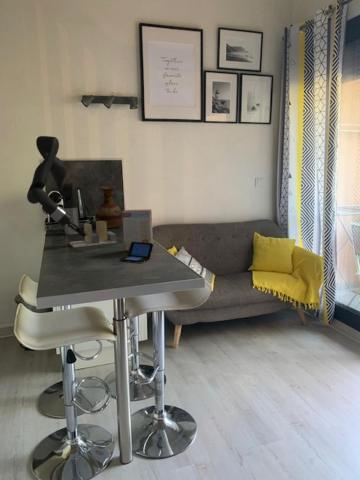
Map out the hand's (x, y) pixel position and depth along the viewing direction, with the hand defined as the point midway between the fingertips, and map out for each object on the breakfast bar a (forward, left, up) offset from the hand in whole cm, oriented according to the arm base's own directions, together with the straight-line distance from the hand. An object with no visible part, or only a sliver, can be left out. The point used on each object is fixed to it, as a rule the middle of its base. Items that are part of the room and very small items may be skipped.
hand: (84, 235), depth 216 cm
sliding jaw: (0, +4, -4) cm, 5 cm away
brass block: (0, +10, -4) cm, 10 cm away
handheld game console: (+51, +13, -5) cm, 53 cm away
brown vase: (-56, +29, -5) cm, 63 cm away
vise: (0, +4, -5) cm, 7 cm away
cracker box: (+33, +20, -5) cm, 39 cm away
